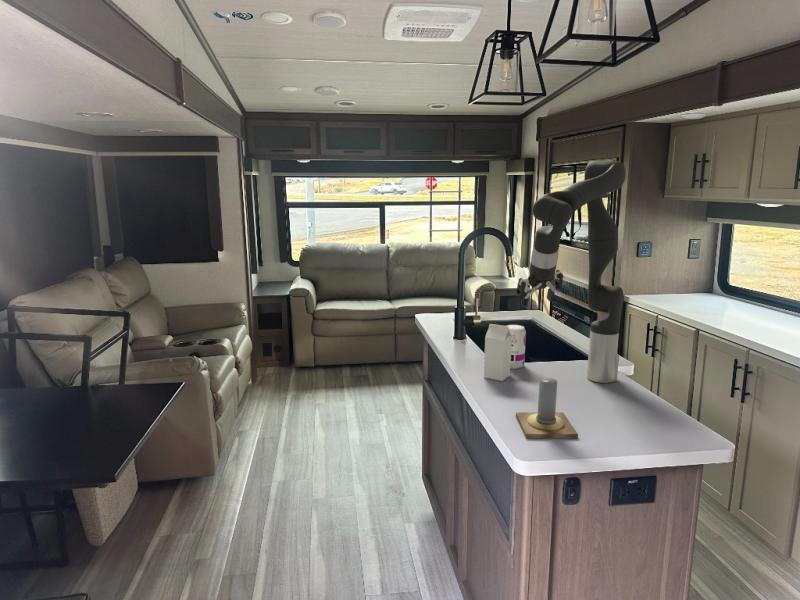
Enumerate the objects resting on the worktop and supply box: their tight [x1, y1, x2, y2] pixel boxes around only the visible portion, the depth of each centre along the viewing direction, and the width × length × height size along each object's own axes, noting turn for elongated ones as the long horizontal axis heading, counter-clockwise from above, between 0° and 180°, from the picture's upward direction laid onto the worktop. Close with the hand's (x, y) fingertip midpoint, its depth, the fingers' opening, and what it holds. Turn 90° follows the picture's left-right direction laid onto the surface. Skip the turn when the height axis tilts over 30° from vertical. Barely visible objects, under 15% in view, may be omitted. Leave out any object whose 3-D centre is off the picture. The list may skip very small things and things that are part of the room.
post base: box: [515, 411, 579, 439], centre depth 154 cm, size 14×14×2 cm
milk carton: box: [483, 323, 512, 382], centre depth 191 cm, size 7×7×19 cm
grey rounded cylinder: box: [536, 377, 558, 425], centre depth 152 cm, size 5×5×12 cm
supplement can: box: [506, 324, 527, 370], centre depth 203 cm, size 8×8×15 cm
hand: (536, 302), depth 170 cm, fingers open, 8 cm apart
